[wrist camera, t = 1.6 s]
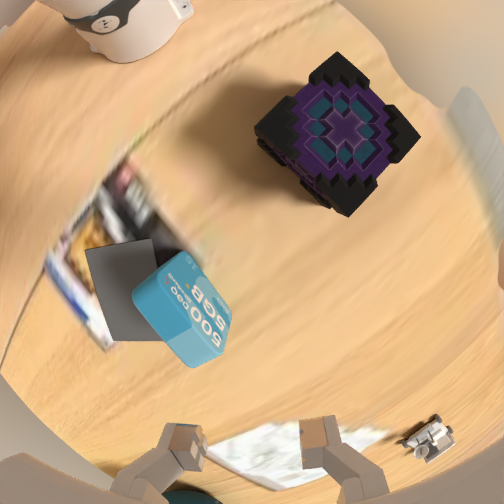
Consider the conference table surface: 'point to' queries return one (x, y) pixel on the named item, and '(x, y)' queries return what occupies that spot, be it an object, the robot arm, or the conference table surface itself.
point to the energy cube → (336, 135)
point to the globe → (189, 497)
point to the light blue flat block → (185, 310)
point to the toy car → (431, 440)
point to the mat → (123, 286)
